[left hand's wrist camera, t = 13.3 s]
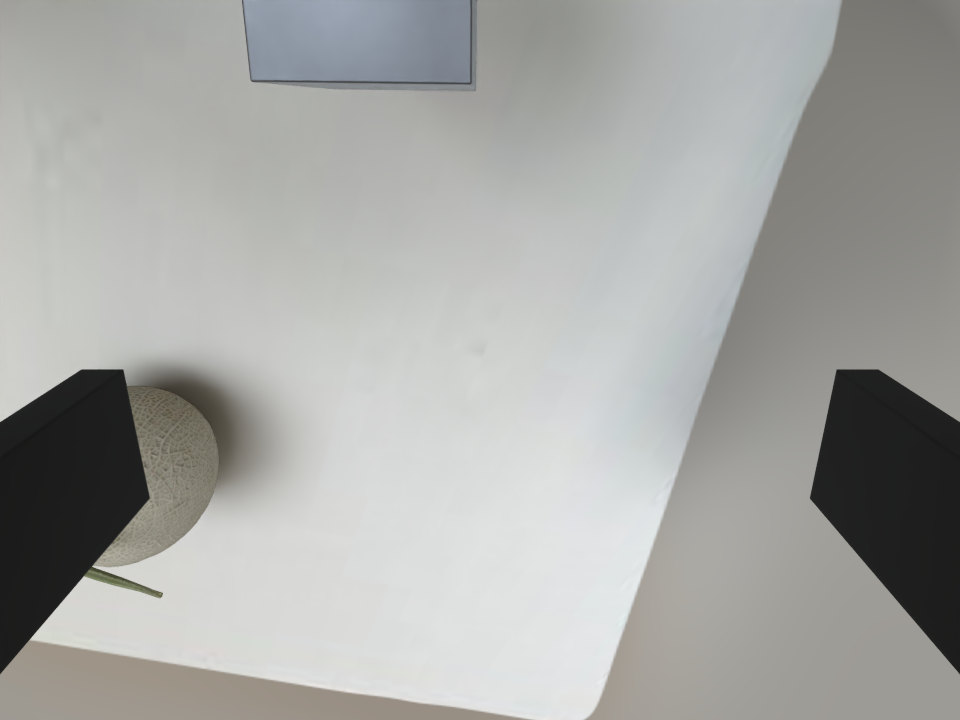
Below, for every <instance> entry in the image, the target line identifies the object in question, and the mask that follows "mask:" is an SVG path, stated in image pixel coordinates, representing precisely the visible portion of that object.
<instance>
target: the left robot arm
mask: <svg viewBox="0 0 960 720" xmlns="http://www.w3.org/2000/svg"><path fill="white" fill-rule="evenodd" d="M149 499H150V496H149V491H148V486H147V481H146V476H145V472H144V467H143V462H142V457H141V452H140V448H139V443H138V438H137V433H136V428H135V423H134V419H133V414H132V409H131V404H130V399H129V395H128V390H127V385H126V380H125V375H124V371H123V370H80V371H79V372H77V373H76V374H74V375H72V376H71V377H69V378H68V379H66V380H65V381H63V382H62V383H60V384H59V385H57V386H55V387H54V388H52V389H51V390H49V391H48V392H46V393H45V394H43V395H42V396H40V397H38V398H37V399H35V400H34V401H32V402H31V403H29V404H28V405H26V406H25V407H23V408H21V409H20V410H18V411H17V412H15V413H14V414H12V415H11V416H9V417H8V418H6V419H4V420H3V421H1V422H0V674H1V673H2V671H3V670H4V669H5V668H6V667H7V665H8V664H9V663H10V662H11V661H12V660H13V658H14V657H15V656H16V655H17V654H18V652H19V651H20V650H21V649H22V648H23V647H24V646H25V644H26V643H27V642H28V641H29V640H30V639H31V637H32V636H33V635H34V634H35V633H36V632H37V630H38V629H39V628H40V627H41V626H42V624H43V623H44V622H45V621H46V620H47V619H48V617H49V616H50V615H51V614H52V613H53V612H54V610H55V609H56V608H57V607H58V606H59V605H60V603H61V602H62V601H63V600H64V599H65V598H66V596H67V595H68V594H69V593H70V592H71V590H72V589H73V588H74V587H75V586H76V585H77V583H78V582H79V581H80V580H81V579H82V578H83V576H84V575H85V574H86V573H87V572H88V571H89V569H90V568H91V567H92V566H93V565H94V564H95V562H96V561H97V560H98V559H99V558H100V557H101V555H102V554H103V553H104V552H105V551H106V549H107V548H108V547H109V546H110V545H111V544H112V542H113V541H114V540H115V539H116V538H117V537H118V535H119V534H120V533H121V532H122V531H123V530H124V528H125V527H126V526H127V525H128V524H129V523H130V521H131V520H132V519H133V518H134V517H135V516H136V514H137V513H138V512H139V511H140V510H141V508H142V507H143V506H144V505H145V504H146V503H147V501H148V500H149ZM810 499H811V500H812V501H813V503H814V504H815V505H816V506H817V507H818V508H819V510H820V511H821V512H822V513H823V514H824V516H825V517H826V518H827V519H828V520H829V521H830V523H831V524H832V525H833V526H834V527H835V528H836V530H837V531H838V532H839V533H840V534H841V535H842V536H843V538H844V539H845V540H846V541H847V542H848V544H849V545H850V546H851V547H852V548H853V549H854V551H855V552H856V553H857V554H858V555H859V557H860V558H861V559H862V560H863V561H864V562H865V564H866V565H867V566H868V567H869V568H870V569H871V570H872V572H873V573H874V574H875V575H876V576H877V578H878V579H879V580H880V581H881V582H882V583H883V585H884V586H885V587H886V588H887V589H888V590H889V592H890V593H891V594H892V595H893V596H894V598H895V599H896V600H897V601H898V602H899V603H900V605H901V606H902V607H903V608H904V609H905V610H906V612H907V613H908V614H909V615H910V616H911V617H912V619H913V620H914V621H915V622H916V623H917V624H918V626H919V627H920V628H921V629H922V630H923V631H924V633H925V634H926V635H927V636H928V637H929V639H930V640H931V641H932V642H933V643H934V644H935V646H936V647H937V648H938V649H939V650H940V651H941V653H942V654H943V655H944V656H945V657H946V658H947V660H948V661H949V662H950V663H951V664H952V665H953V667H954V668H955V669H956V670H957V671H958V672H959V674H960V422H959V421H957V420H956V419H954V418H952V417H951V416H949V415H948V414H946V413H945V412H943V411H942V410H940V409H939V408H937V407H935V406H934V405H932V404H931V403H929V402H928V401H926V400H925V399H923V398H922V397H920V396H918V395H917V394H915V393H914V392H912V391H911V390H909V389H908V388H906V387H904V386H903V385H901V384H900V383H898V382H897V381H895V380H894V379H892V378H891V377H889V376H888V375H886V374H884V373H883V372H881V371H880V370H837V371H836V375H835V380H834V385H833V390H832V395H831V400H830V404H829V409H828V414H827V419H826V424H825V428H824V433H823V438H822V443H821V448H820V452H819V457H818V462H817V467H816V472H815V476H814V481H813V486H812V491H811V496H810Z"/></svg>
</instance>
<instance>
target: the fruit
mask: <svg viewBox="0 0 960 720" xmlns="http://www.w3.org/2000/svg"><path fill="white" fill-rule="evenodd" d="M127 390H128V395H129V399H130V404H131V409H132V414H133V419H134V423H135V428H136V433H137V438H138V443H139V448H140V452H141V457H142V462H143V467H144V472H145V476H146V481H147V486H148V491H149V496H150V499H149V500H148V501H147V503H146V504H145V505H144V506H143V507H142V508H141V510H140V511H139V512H138V513H137V514H136V516H135V517H134V518H133V519H132V520H131V521H130V523H129V524H128V525H127V526H126V527H125V528H124V530H123V531H122V532H121V533H120V534H119V535H118V537H117V538H116V539H115V540H114V541H113V542H112V544H111V545H110V546H109V547H108V548H107V549H106V551H105V552H104V553H103V554H102V555H101V557H100V558H99V559H98V560H97V561H96V562H95V564H94V566H101V567H116V566H124V565H129V564H133V563H136V562H139V561H142V560H144V559H146V558H149V557H151V556H154V555H156V554H158V553H160V552H162V551H164V550H166V549H167V548H169V547H170V546H172V545H173V544H175V543H176V542H177V541H178V540H180V539H181V538H182V537H183V536H184V535H185V534H186V533H187V532H188V531H190V530H191V528H192V527H193V526H194V525H195V524H196V523H197V521H198V520H199V518H200V517H201V515H202V514H203V512H204V511H205V509H206V508H207V506H208V504H209V502H210V500H211V497H212V495H213V492H214V489H215V485H216V482H217V477H218V468H219V454H218V447H217V442H216V439H215V436H214V433H213V431H212V428H211V426H210V425H209V423H208V422H207V420H206V419H205V418H204V416H203V415H202V414H201V413H200V412H199V411H198V410H197V409H196V408H195V407H194V406H193V405H192V404H190V403H189V402H187V401H186V400H184V399H183V398H181V397H180V396H178V395H176V394H173V393H171V392H168V391H165V390H161V389H158V388H152V387H146V386H127ZM84 576H85V577H88V578H91V579H94V580H97V581H101V582H104V583H108V584H111V585H115V586H119V587H123V588H127V589H131V590H135V591H140V592H143V593H145V594H148V595H151V596H154V597H157V598H161V597H162V595H163V593H161V592H158V591H155V590H152V589H150V588H148V587H145V586H142V585H140V584H137V583H135V582H132V581H129V580H127V579H124V578H122V577H119V576H116V575H113V574H110V573H107V572H105V571H102V570H99V569H96V568H94V567H91V568H90V569H89V571H88V572H87V573H86V574H85V575H84Z"/></svg>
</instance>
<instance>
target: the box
mask: <svg viewBox="0 0 960 720" xmlns="http://www.w3.org/2000/svg"><path fill="white" fill-rule="evenodd" d="M242 5H243V14H244V23H245V33H246V42H247V51H248V61H249V70H250V79H251V81H252V82H258V83H270V84H282V85H293V86H305V87H316V88H328V89H360V90H437V91H476V34H477V0H242Z"/></svg>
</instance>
